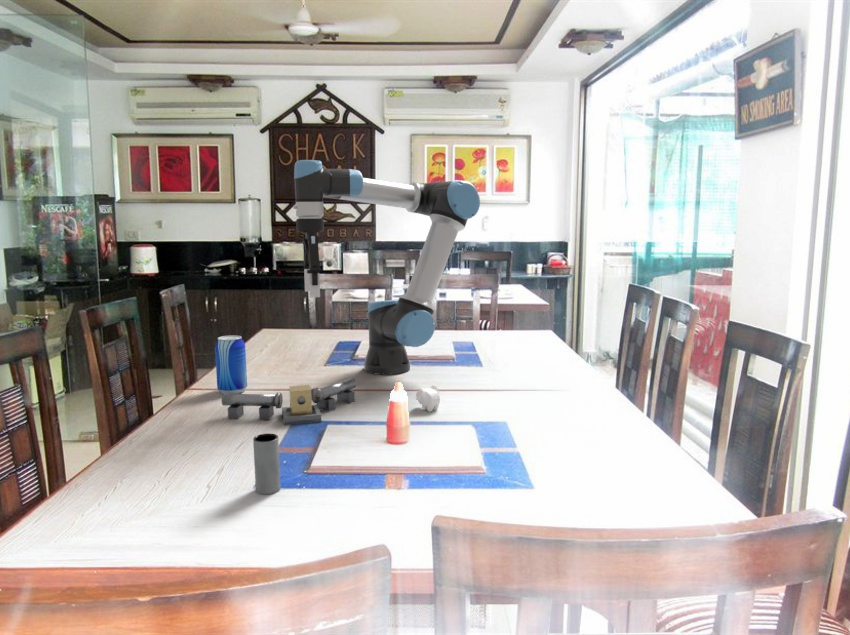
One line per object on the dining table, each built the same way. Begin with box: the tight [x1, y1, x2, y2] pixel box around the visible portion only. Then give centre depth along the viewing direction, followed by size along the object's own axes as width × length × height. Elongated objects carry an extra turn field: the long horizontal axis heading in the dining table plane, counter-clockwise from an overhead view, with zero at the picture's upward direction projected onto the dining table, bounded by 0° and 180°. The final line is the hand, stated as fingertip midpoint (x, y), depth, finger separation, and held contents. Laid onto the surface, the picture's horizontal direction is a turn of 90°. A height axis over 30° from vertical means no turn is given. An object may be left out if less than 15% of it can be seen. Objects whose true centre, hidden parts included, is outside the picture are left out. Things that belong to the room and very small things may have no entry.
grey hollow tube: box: [252, 432, 281, 495], centre depth 123 cm, size 4×4×10 cm
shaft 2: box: [311, 377, 358, 412], centre depth 176 cm, size 15×4×6 cm, turn 146°
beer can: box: [214, 334, 248, 395], centre depth 190 cm, size 8×8×16 cm
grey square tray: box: [281, 404, 322, 426], centre depth 166 cm, size 9×9×2 cm
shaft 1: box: [220, 392, 284, 421], centre depth 166 cm, size 15×4×6 cm, turn 86°
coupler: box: [288, 384, 313, 416], centre depth 165 cm, size 6×5×7 cm
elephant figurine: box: [415, 384, 441, 412], centre depth 172 cm, size 7×8×6 cm
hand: (312, 294), depth 184 cm, fingers open, 13 cm apart
